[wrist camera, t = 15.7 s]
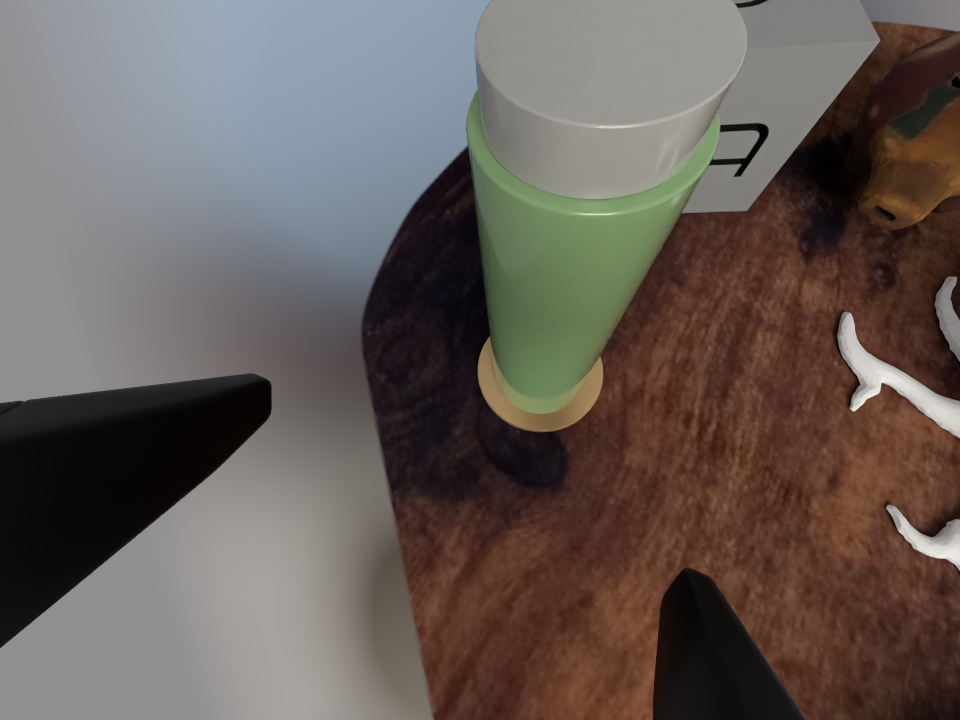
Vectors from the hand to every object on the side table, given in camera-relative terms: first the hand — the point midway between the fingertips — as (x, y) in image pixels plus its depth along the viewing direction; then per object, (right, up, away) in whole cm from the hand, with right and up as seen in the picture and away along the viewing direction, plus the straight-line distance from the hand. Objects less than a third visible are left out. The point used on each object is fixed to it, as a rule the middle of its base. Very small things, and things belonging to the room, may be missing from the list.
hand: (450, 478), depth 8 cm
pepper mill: (+4, +2, +14) cm, 15 cm away
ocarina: (+28, +14, +18) cm, 36 cm away
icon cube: (+13, +17, +20) cm, 29 cm away
